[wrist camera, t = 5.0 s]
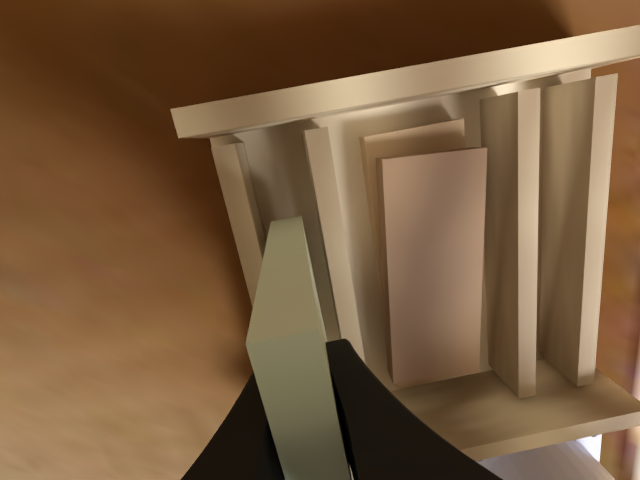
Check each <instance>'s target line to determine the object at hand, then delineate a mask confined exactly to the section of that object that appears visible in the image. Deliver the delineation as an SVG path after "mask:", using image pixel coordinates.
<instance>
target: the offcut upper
mask: <svg viewBox="0 0 640 480" xmlns="http://www.w3.org/2000/svg"><path fill="white" fill-rule="evenodd" d="M376 172H377V190H378V208H379V226H380V245H381V263H382V281H383V299H384V317H385V336H386V354H387V371H388V373H389V375H390V378H391V380H392V382H393V385H394V384H401V383H408V382H414V381H421V380H428V379H435V378H442V377H448V376H455V375H462V374H469V373H476V372H479V356H480V330H481V304H482V277H483V251H484V225H485V199H486V172H487V147H469V148H460V149H451V150H442V151H433V152H424V153H416V154H407V155H398V156H389V157H380V158H376Z"/></svg>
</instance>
